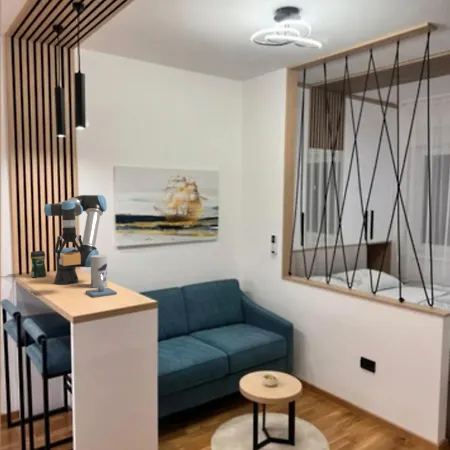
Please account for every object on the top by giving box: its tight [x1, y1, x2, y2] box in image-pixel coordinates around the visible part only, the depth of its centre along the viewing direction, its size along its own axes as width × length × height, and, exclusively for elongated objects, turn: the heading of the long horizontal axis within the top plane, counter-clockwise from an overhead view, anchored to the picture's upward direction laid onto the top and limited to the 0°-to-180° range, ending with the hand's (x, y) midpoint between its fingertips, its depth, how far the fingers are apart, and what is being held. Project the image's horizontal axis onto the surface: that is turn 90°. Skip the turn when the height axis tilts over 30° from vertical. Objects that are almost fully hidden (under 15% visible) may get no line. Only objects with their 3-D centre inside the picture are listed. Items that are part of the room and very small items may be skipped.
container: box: [90, 254, 108, 289], centre depth 275 cm, size 10×10×20 cm
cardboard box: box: [59, 252, 81, 266], centre depth 259 cm, size 10×10×6 cm
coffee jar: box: [30, 250, 47, 278], centre depth 304 cm, size 10×8×19 cm
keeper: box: [85, 274, 118, 299], centre depth 256 cm, size 14×14×12 cm
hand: (69, 263), depth 259 cm, fingers closed on cardboard box, 10 cm apart
